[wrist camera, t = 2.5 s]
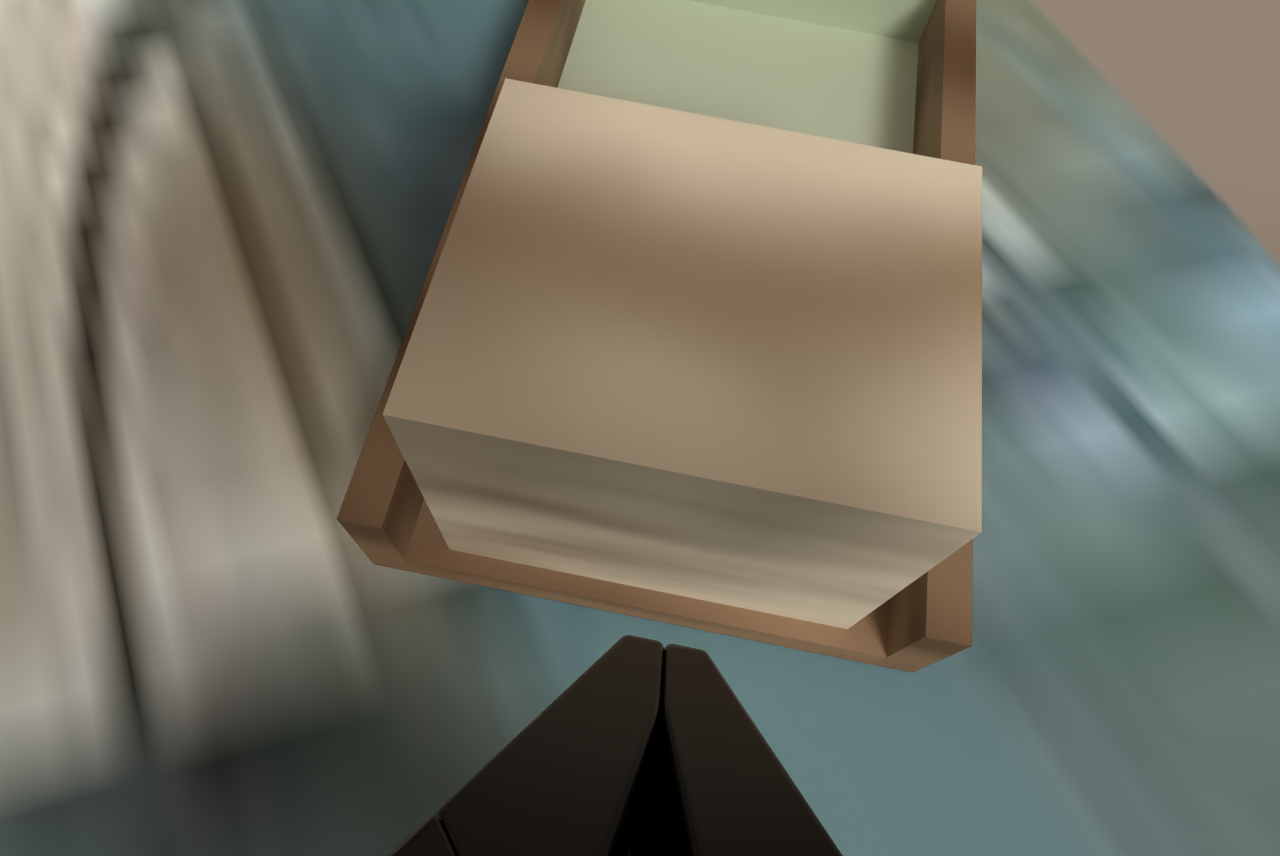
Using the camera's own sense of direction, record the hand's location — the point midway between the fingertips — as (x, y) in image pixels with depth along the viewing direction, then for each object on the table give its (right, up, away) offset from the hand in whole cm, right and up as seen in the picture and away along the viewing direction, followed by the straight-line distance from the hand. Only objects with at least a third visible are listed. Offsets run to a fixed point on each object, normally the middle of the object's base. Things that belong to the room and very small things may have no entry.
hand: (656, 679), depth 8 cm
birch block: (+1, +2, +14) cm, 14 cm away
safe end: (+3, +13, +20) cm, 25 cm away
